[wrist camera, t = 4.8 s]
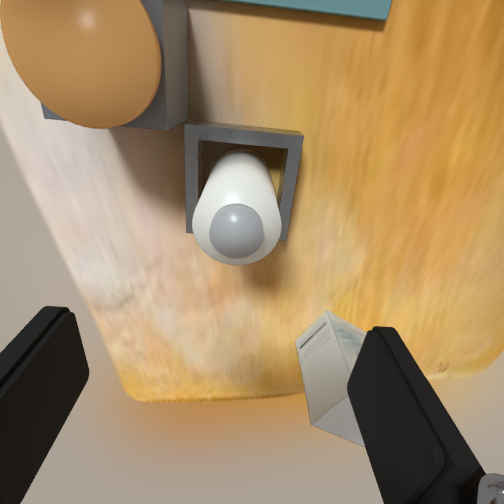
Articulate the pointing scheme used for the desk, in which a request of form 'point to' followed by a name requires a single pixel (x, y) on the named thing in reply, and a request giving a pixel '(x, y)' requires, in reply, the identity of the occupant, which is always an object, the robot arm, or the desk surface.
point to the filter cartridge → (238, 210)
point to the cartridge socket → (248, 136)
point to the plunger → (85, 57)
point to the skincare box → (330, 373)
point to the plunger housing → (164, 68)
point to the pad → (330, 7)
